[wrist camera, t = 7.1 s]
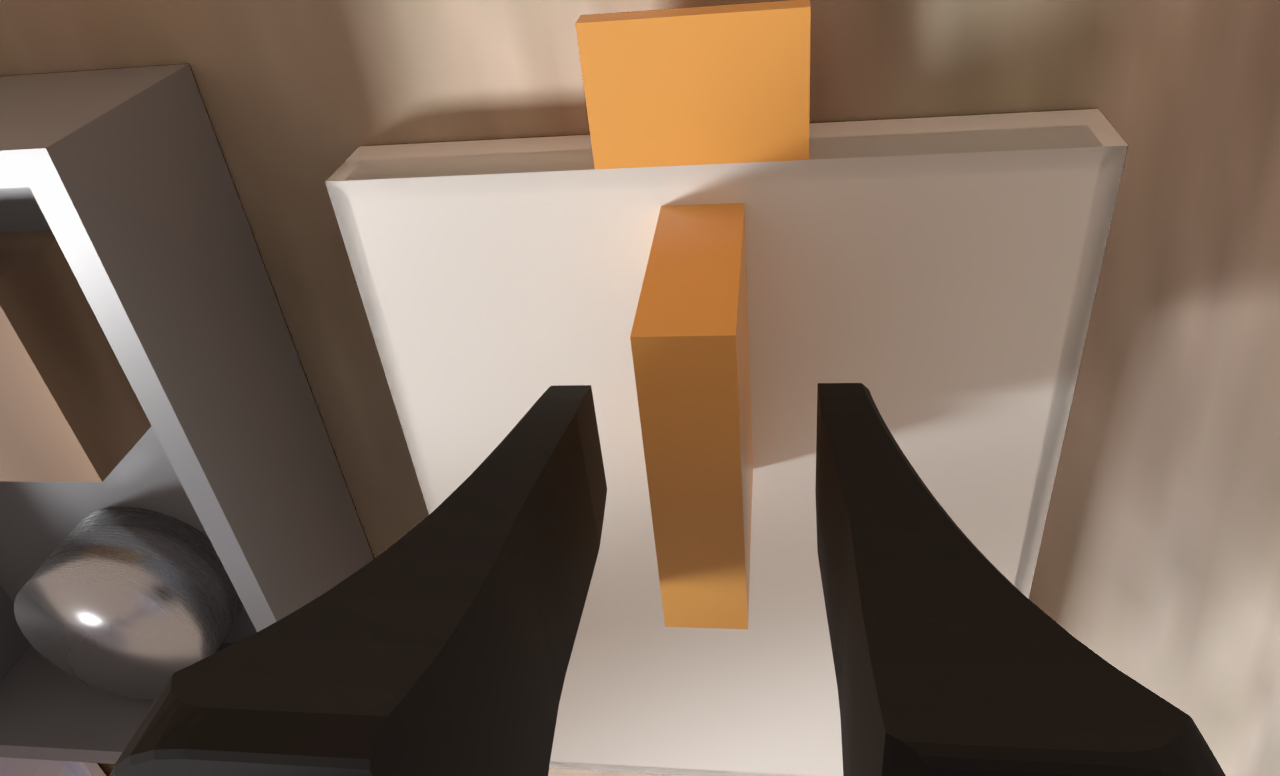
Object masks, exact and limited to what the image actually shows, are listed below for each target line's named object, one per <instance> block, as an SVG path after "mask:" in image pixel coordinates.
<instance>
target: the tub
mask: <svg viewBox="0 0 1280 776" xmlns="http://www.w3.org/2000/svg"><path fill="white" fill-rule="evenodd" d="M42 231H52V232H53V234H54V236H55V238H56V240H57V242H58V244H59V246H60V248H61V250H62V252H63V254H64V256H65V258H66V260H67V262H68V263H69V265H70V267H71V269H72V271H73V273H74V275H75V277H76V279H77V281H78V283H79V285H80V287H81V289H82V291H83V293H84V295H85V297H86V299H87V301H88V303H89V305H90V306H91V308H92V310H93V312H94V314H95V316H96V318H97V320H98V322H99V324H100V326H101V328H102V330H103V332H104V334H105V336H106V338H107V340H108V342H109V344H110V346H111V348H112V349H113V351H114V353H115V355H116V357H117V359H118V361H119V363H120V365H121V367H122V369H123V371H124V373H125V375H126V377H127V379H128V381H129V383H130V385H131V387H132V389H133V390H134V392H135V394H136V396H137V398H138V400H139V402H140V404H141V406H142V408H143V410H144V412H145V414H146V416H147V418H148V420H149V422H150V424H151V427H150V429H149V430H148V431H147V432H146V433H145V434H144V435H143V437H142V438H141V439H140V440H139V441H138V442H137V443H136V444H135V446H134V447H133V448H132V449H131V450H130V451H129V452H128V454H127V455H126V456H125V457H124V458H123V459H122V460H121V461H120V463H119V464H118V465H117V466H116V467H115V468H114V469H113V471H112V472H111V473H110V474H109V475H108V476H107V477H106V479H105V480H104V481H103V482H14V481H0V757H5V758H22V759H39V760H55V761H72V762H88V763H105V764H116V762H117V760H118V759H119V757H120V756H121V754H122V752H123V751H124V749H125V748H126V746H127V744H128V743H129V741H130V740H131V738H132V736H133V735H134V733H135V732H136V730H137V728H138V727H139V725H140V724H141V722H142V720H143V719H144V717H145V716H146V714H147V712H148V711H149V709H150V707H151V706H152V704H153V703H154V701H155V700H156V699H139V698H132V697H127V696H122V695H118V694H114V693H111V692H107V691H105V690H102V689H99V688H96V687H94V686H91V685H89V684H87V683H85V682H82V681H80V680H78V679H76V678H74V677H73V676H71V675H69V674H68V673H66V672H64V671H63V670H61V669H60V668H58V667H57V666H55V665H54V664H52V663H51V662H50V661H49V660H47V659H46V658H45V657H44V656H42V655H41V654H40V653H39V652H38V651H37V650H36V649H35V648H34V647H33V646H32V645H31V644H30V642H29V641H28V640H27V639H26V637H25V636H24V635H23V633H22V631H21V629H20V628H19V626H18V623H17V621H16V618H15V614H14V602H15V598H16V596H17V594H18V592H19V591H20V590H21V588H22V587H23V586H24V585H25V584H26V583H27V582H28V580H29V579H30V578H31V577H32V576H33V575H34V574H35V572H36V571H37V570H38V569H39V568H40V567H41V566H42V564H43V563H44V562H45V561H46V560H47V559H48V558H49V556H50V555H51V554H52V553H53V552H54V551H55V550H56V548H57V547H58V546H59V545H60V544H61V543H62V542H63V540H64V539H65V538H66V537H67V536H68V535H69V534H70V532H71V531H72V530H73V529H74V528H75V527H76V526H77V524H78V523H79V522H80V521H81V520H82V519H83V518H84V517H86V516H87V515H89V514H90V513H93V512H95V511H97V510H101V509H104V508H110V507H135V508H142V509H147V510H152V511H156V512H159V513H163V514H165V515H168V516H171V517H173V518H176V519H178V520H180V521H182V522H184V523H186V524H188V525H190V526H192V527H193V528H195V529H197V530H199V531H200V532H202V533H203V534H204V535H206V536H207V537H209V539H210V541H211V543H212V545H213V547H214V549H215V551H216V553H217V555H218V557H219V559H220V561H221V562H222V564H223V566H224V568H225V570H226V572H227V574H228V576H229V578H230V580H231V582H232V584H233V586H234V588H235V590H236V592H237V594H238V596H239V598H240V600H241V602H242V604H243V605H244V606H243V608H242V610H241V612H240V613H239V615H238V617H237V618H236V620H235V622H234V623H233V625H232V627H231V628H230V630H229V631H228V633H227V635H226V636H225V638H224V640H223V641H222V643H221V645H220V646H219V648H218V650H217V651H216V653H217V652H219V651H221V650H223V649H225V648H227V647H229V646H231V645H233V644H235V643H237V642H239V641H241V640H243V639H245V638H247V637H249V636H251V635H253V634H255V633H257V632H259V631H261V630H262V629H264V628H266V627H268V626H270V625H271V624H273V623H275V622H277V621H279V620H280V619H282V618H284V617H286V616H287V615H289V614H291V613H293V612H294V611H296V610H298V609H299V608H301V607H303V606H304V605H306V604H308V603H309V602H311V601H313V600H314V599H316V598H318V597H319V596H321V595H322V594H324V593H326V592H327V591H329V590H330V589H332V588H333V587H335V586H336V585H337V584H339V583H340V582H342V581H343V580H345V579H346V578H348V577H349V576H350V575H352V574H353V573H355V572H356V571H358V570H359V569H361V568H362V567H364V566H365V565H366V564H368V563H369V562H371V561H372V560H374V558H373V555H372V553H371V550H370V547H369V545H368V542H367V539H366V537H365V534H364V531H363V529H362V526H361V523H360V521H359V518H358V515H357V513H356V510H355V507H354V505H353V502H352V499H351V497H350V494H349V491H348V489H347V486H346V483H345V481H344V478H343V475H342V473H341V470H340V467H339V465H338V462H337V459H336V457H335V454H334V451H333V448H332V446H331V443H330V440H329V438H328V435H327V432H326V430H325V427H324V424H323V422H322V419H321V416H320V414H319V411H318V408H317V406H316V403H315V400H314V398H313V395H312V392H311V390H310V387H309V384H308V382H307V379H306V376H305V374H304V371H303V368H302V366H301V363H300V360H299V358H298V355H297V352H296V349H295V347H294V344H293V341H292V339H291V336H290V333H289V331H288V328H287V325H286V323H285V320H284V317H283V315H282V312H281V309H280V307H279V304H278V301H277V299H276V296H275V293H274V291H273V288H272V285H271V283H270V280H269V277H268V275H267V272H266V269H265V267H264V264H263V261H262V259H261V256H260V253H259V251H258V248H257V245H256V242H255V240H254V237H253V234H252V232H251V229H250V226H249V224H248V221H247V218H246V216H245V213H244V210H243V208H242V205H241V202H240V200H239V197H238V194H237V192H236V189H235V186H234V184H233V181H232V178H231V176H230V173H229V170H228V168H227V165H226V162H225V160H224V157H223V154H222V152H221V149H220V146H219V144H218V141H217V138H216V135H215V133H214V130H213V127H212V125H211V122H210V119H209V117H208V114H207V111H206V109H205V106H204V103H203V101H202V98H201V95H200V93H199V90H198V87H197V85H196V82H195V79H194V77H193V74H192V71H191V69H190V66H189V64H178V65H163V66H148V67H134V68H119V69H104V70H89V71H74V72H59V73H45V74H30V75H15V76H0V233H15V232H42Z"/></svg>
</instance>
